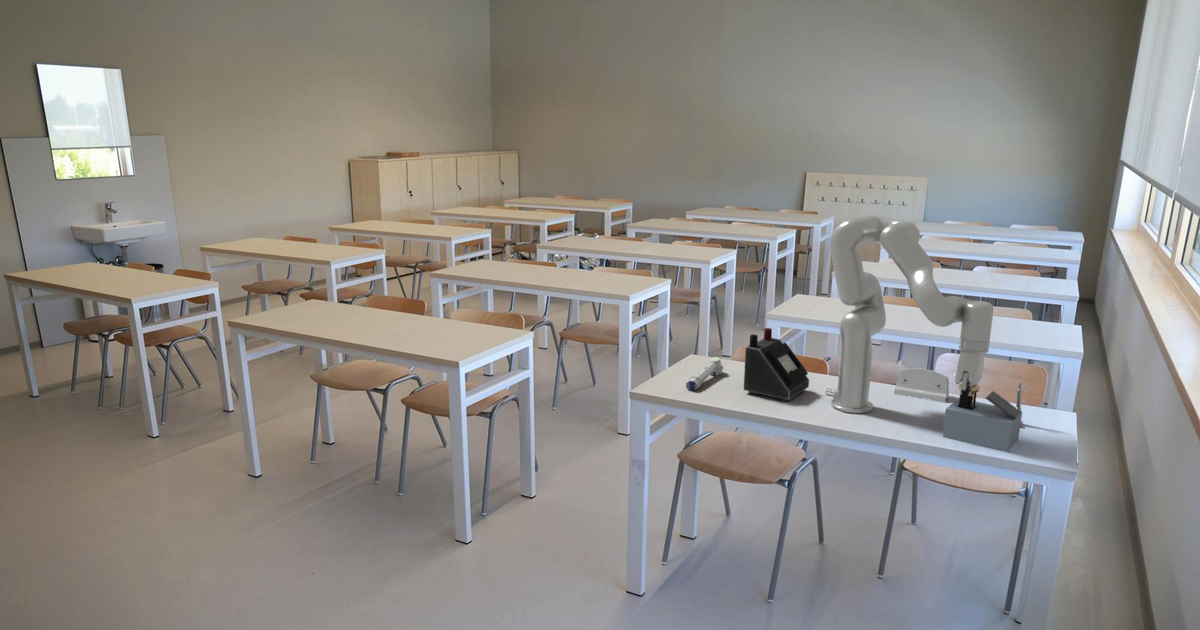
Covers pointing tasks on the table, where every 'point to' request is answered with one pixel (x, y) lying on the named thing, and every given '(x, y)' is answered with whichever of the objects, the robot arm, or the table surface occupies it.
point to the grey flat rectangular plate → (1003, 405)
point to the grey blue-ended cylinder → (705, 374)
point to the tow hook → (1019, 398)
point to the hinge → (922, 384)
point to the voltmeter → (773, 368)
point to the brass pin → (974, 389)
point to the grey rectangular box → (982, 426)
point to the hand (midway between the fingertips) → (966, 405)
